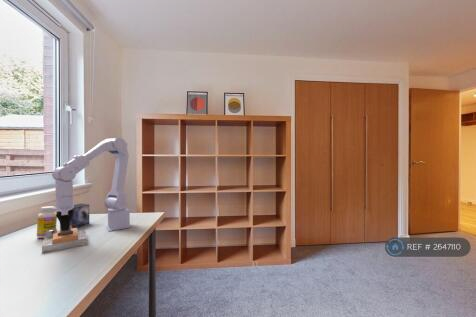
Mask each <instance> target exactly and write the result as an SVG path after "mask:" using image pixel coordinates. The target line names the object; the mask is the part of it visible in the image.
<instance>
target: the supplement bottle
mask: <svg viewBox="0 0 476 317" xmlns="http://www.w3.org/2000/svg"><path fill="white" fill-rule="evenodd" d="M52 208H55V206H52V205H50V206H48V205H47V206H42V207H40V211H41V212H40V213H38V214H37V221H36V222H37V224H36V237H37V238H38V239H44V238H45V236H46V231H47V230H50V229H57V220H58V218H57V217H56V214H57V211H56V212H55V210H52Z"/></svg>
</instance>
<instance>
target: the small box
mask: <svg viewBox="0 0 476 317" xmlns="http://www.w3.org/2000/svg"><path fill="white" fill-rule="evenodd" d="M73 206H74V208H73V212H72V213H73V216H72V218H71V229H72V228H77V229H78V228H81V227H83V226H87V225H90V204H88V203H78V204H73Z"/></svg>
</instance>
